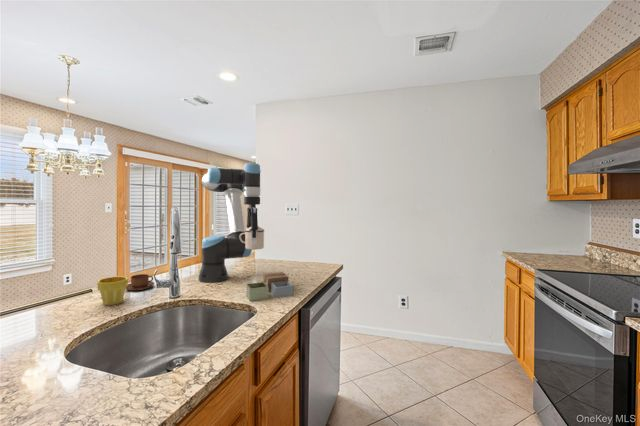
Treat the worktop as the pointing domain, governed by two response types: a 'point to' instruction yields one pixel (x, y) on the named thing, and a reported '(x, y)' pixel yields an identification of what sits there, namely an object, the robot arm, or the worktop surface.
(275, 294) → the grey tub
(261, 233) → the teacup with lid
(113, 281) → the plant pot
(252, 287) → the olive tin
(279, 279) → the walnut stand
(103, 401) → the worktop surface
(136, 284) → the cup and saucer
